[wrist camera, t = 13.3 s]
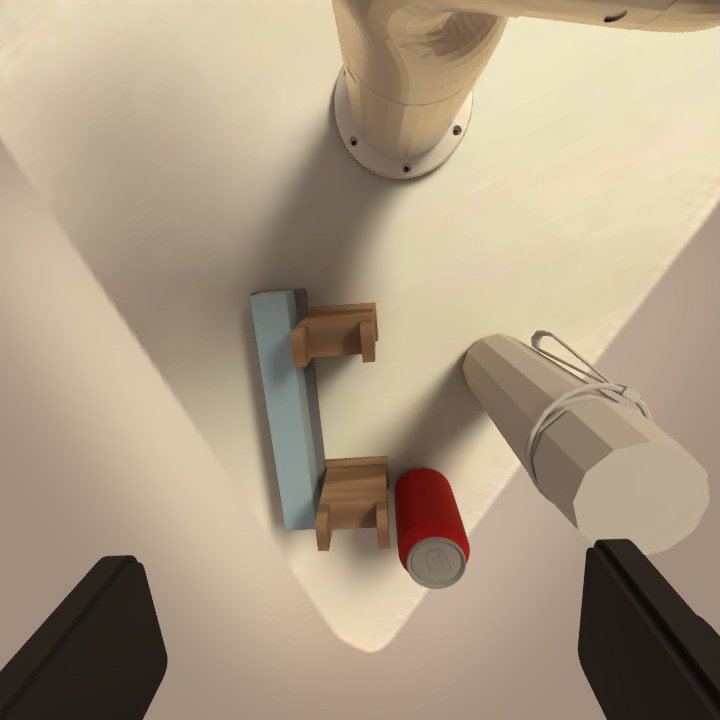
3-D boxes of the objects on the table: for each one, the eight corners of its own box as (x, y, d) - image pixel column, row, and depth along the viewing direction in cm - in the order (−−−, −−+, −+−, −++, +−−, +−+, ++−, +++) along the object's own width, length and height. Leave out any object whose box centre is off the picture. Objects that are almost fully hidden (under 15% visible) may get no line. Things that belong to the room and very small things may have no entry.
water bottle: (506, 408, 45) (654, 588, 21) (445, 376, 44) (527, 523, 20) (554, 338, 43) (783, 448, 19) (491, 302, 42) (645, 370, 18)
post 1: (308, 307, 43) (285, 326, 32) (375, 302, 43) (374, 319, 32) (312, 344, 44) (292, 373, 33) (378, 339, 44) (378, 367, 33)
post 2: (325, 459, 48) (311, 519, 37) (386, 456, 47) (389, 515, 37) (329, 489, 49) (316, 555, 38) (389, 486, 48) (392, 552, 38)
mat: (252, 293, 43) (251, 293, 42) (304, 289, 43) (303, 289, 42) (285, 506, 50) (283, 509, 49) (330, 503, 49) (329, 506, 49)
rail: (261, 292, 42) (249, 296, 38) (293, 289, 42) (285, 293, 38) (292, 508, 49) (285, 530, 45) (321, 506, 49) (316, 528, 45)
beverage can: (401, 519, 49) (409, 601, 38) (387, 471, 48) (390, 542, 36) (456, 507, 49) (480, 587, 37) (443, 458, 47) (465, 526, 35)
